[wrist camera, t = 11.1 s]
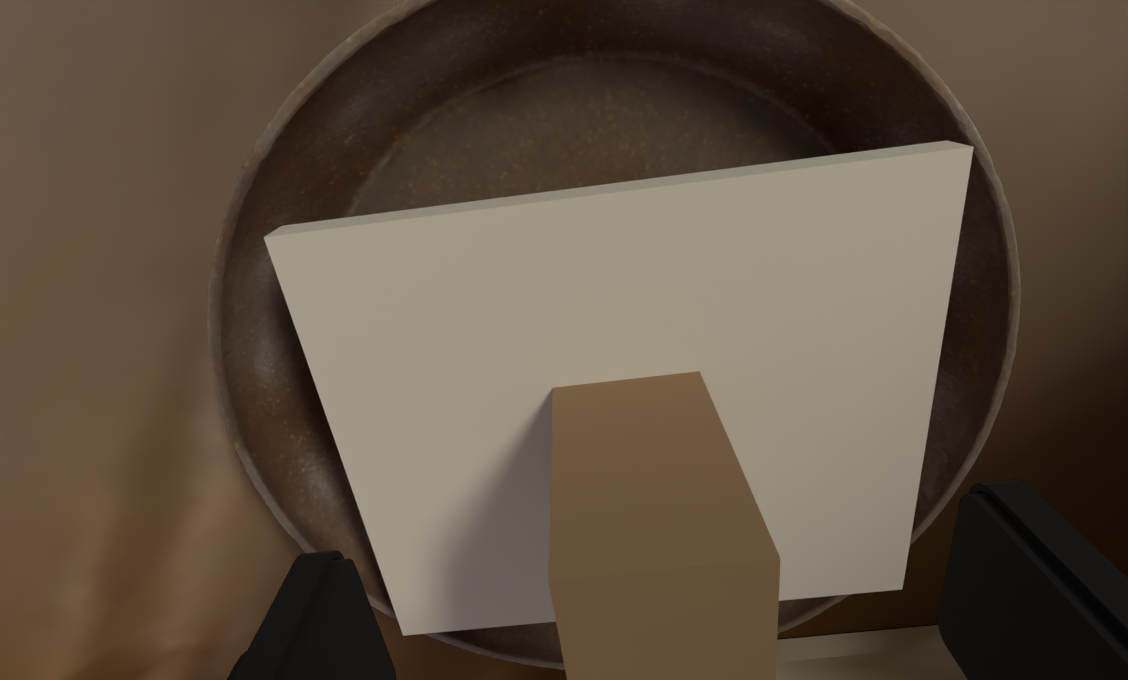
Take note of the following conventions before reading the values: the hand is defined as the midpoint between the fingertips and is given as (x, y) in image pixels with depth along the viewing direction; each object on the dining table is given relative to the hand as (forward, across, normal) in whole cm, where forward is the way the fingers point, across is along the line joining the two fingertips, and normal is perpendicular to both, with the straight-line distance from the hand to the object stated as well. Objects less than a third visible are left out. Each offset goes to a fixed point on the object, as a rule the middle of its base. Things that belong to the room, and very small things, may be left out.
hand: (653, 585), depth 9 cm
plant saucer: (+8, 0, 0) cm, 8 cm away
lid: (+5, 0, 0) cm, 5 cm away
